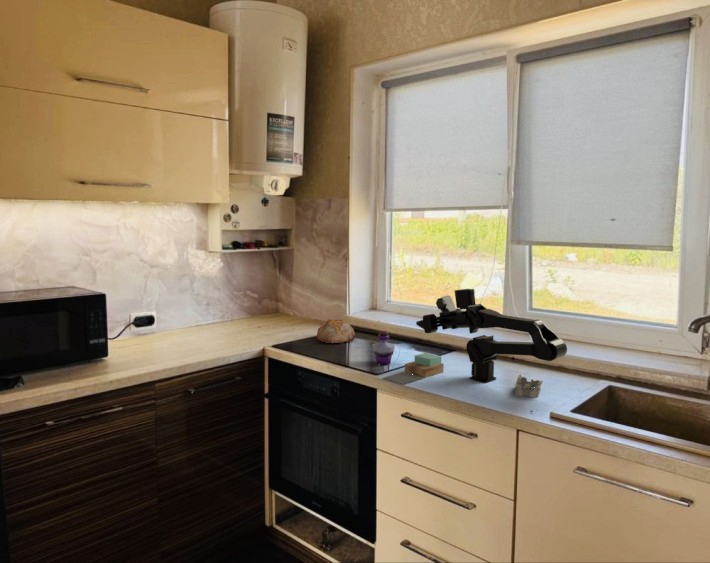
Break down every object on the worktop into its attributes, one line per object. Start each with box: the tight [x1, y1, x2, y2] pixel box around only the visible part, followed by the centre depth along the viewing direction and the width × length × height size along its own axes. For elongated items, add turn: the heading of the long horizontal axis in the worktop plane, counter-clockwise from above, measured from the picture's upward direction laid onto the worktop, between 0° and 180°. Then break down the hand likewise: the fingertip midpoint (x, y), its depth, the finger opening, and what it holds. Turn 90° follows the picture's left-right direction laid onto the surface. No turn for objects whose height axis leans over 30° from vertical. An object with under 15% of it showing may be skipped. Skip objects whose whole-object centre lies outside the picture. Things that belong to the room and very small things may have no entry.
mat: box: [382, 371, 424, 386], centre depth 182 cm, size 9×10×1 cm
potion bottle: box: [372, 330, 395, 366], centre depth 200 cm, size 9×9×12 cm
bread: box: [316, 319, 356, 345], centre depth 239 cm, size 16×20×10 cm
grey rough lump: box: [514, 374, 543, 398], centre depth 169 cm, size 11×8×4 cm
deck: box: [404, 360, 444, 379], centre depth 190 cm, size 9×10×3 cm
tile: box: [414, 352, 442, 366], centre depth 191 cm, size 7×6×2 cm
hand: (424, 321), depth 198 cm, fingers open, 9 cm apart
